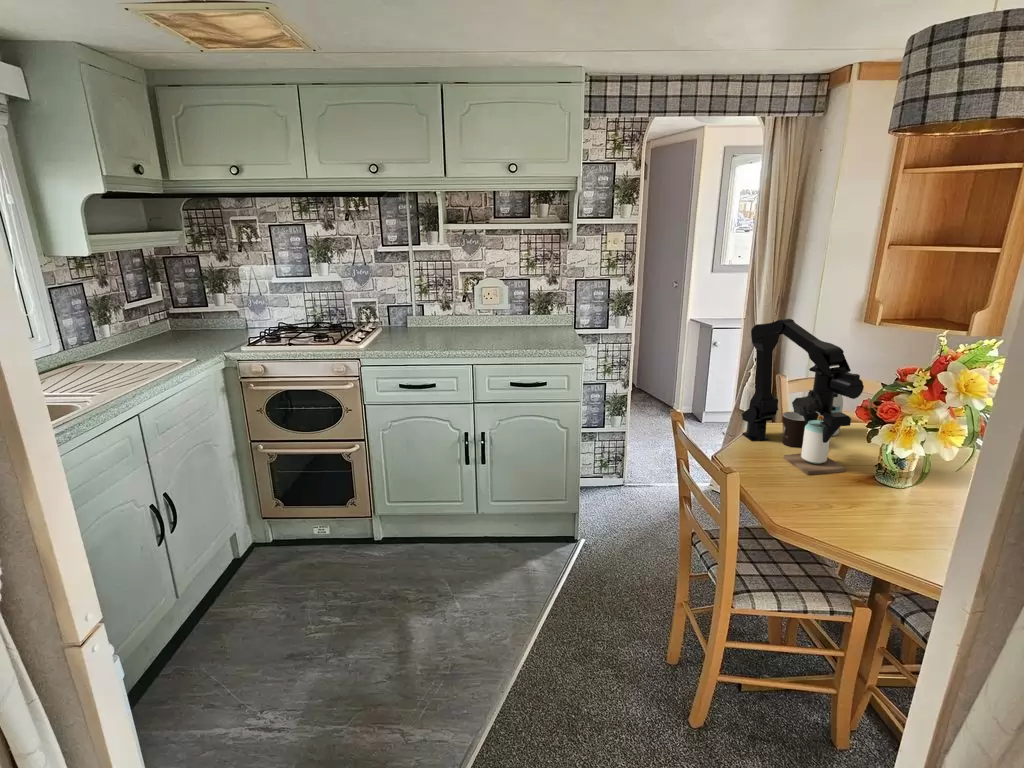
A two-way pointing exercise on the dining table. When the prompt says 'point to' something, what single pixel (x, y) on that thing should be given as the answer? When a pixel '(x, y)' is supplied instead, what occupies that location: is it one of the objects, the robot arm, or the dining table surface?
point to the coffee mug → (793, 429)
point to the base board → (814, 465)
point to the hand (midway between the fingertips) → (816, 437)
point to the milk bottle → (839, 406)
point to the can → (814, 443)
